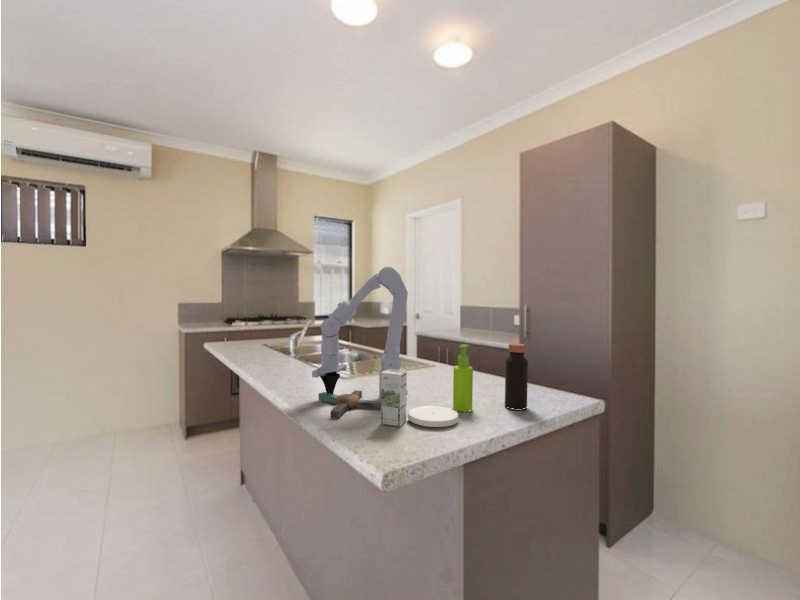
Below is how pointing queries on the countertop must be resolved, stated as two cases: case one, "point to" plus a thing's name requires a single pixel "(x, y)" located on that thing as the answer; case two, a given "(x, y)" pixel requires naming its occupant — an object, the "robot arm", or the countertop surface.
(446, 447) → the countertop surface
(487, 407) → the countertop surface
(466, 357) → the soap dispenser
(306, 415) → the countertop surface
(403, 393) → the syrup box
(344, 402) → the grey brown t-shaped piece
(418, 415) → the plastic lid
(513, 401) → the bottle
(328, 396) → the teal rectangular block
